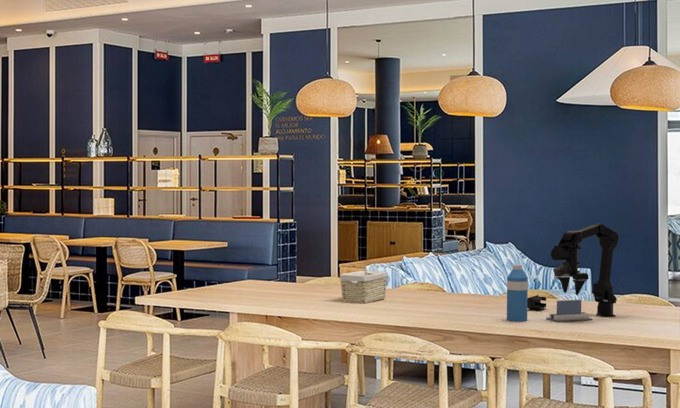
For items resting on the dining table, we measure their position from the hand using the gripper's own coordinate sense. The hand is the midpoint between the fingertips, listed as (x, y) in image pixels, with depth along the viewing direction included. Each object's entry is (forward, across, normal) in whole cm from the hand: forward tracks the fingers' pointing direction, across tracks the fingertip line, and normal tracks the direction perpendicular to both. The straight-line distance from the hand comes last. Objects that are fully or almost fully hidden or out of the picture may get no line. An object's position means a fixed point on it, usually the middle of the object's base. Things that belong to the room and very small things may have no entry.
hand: (571, 293), depth 427 cm
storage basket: (+12, -93, -64) cm, 114 cm away
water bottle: (+12, -6, -24) cm, 28 cm away
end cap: (+12, -33, +3) cm, 35 cm away
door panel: (+11, +1, -2) cm, 11 cm away
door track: (+12, +1, -1) cm, 12 cm away
